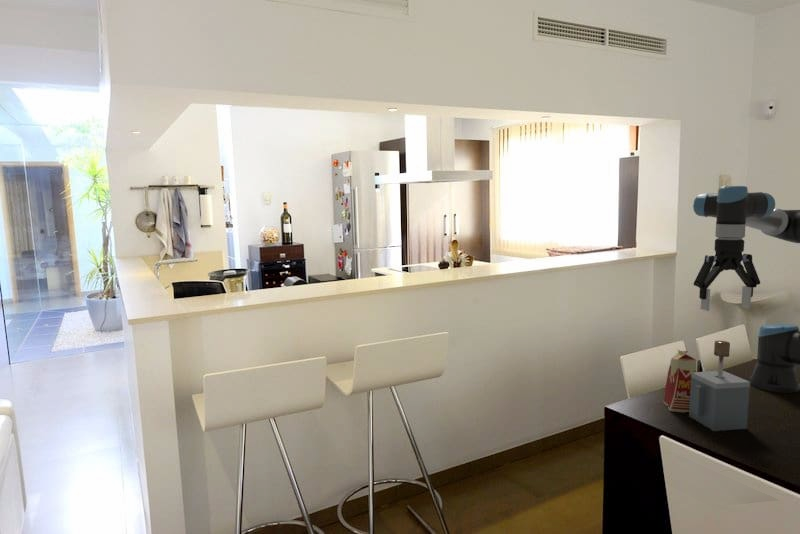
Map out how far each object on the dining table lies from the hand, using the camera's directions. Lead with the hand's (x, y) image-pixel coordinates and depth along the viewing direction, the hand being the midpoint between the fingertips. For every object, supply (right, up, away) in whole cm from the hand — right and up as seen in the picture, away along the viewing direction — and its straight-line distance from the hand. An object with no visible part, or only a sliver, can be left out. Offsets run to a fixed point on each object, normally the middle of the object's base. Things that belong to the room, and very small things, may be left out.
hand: (725, 309), depth 165 cm
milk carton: (-5, -34, +17) cm, 38 cm away
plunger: (0, -34, +4) cm, 34 cm away
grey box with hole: (0, -35, +4) cm, 36 cm away
